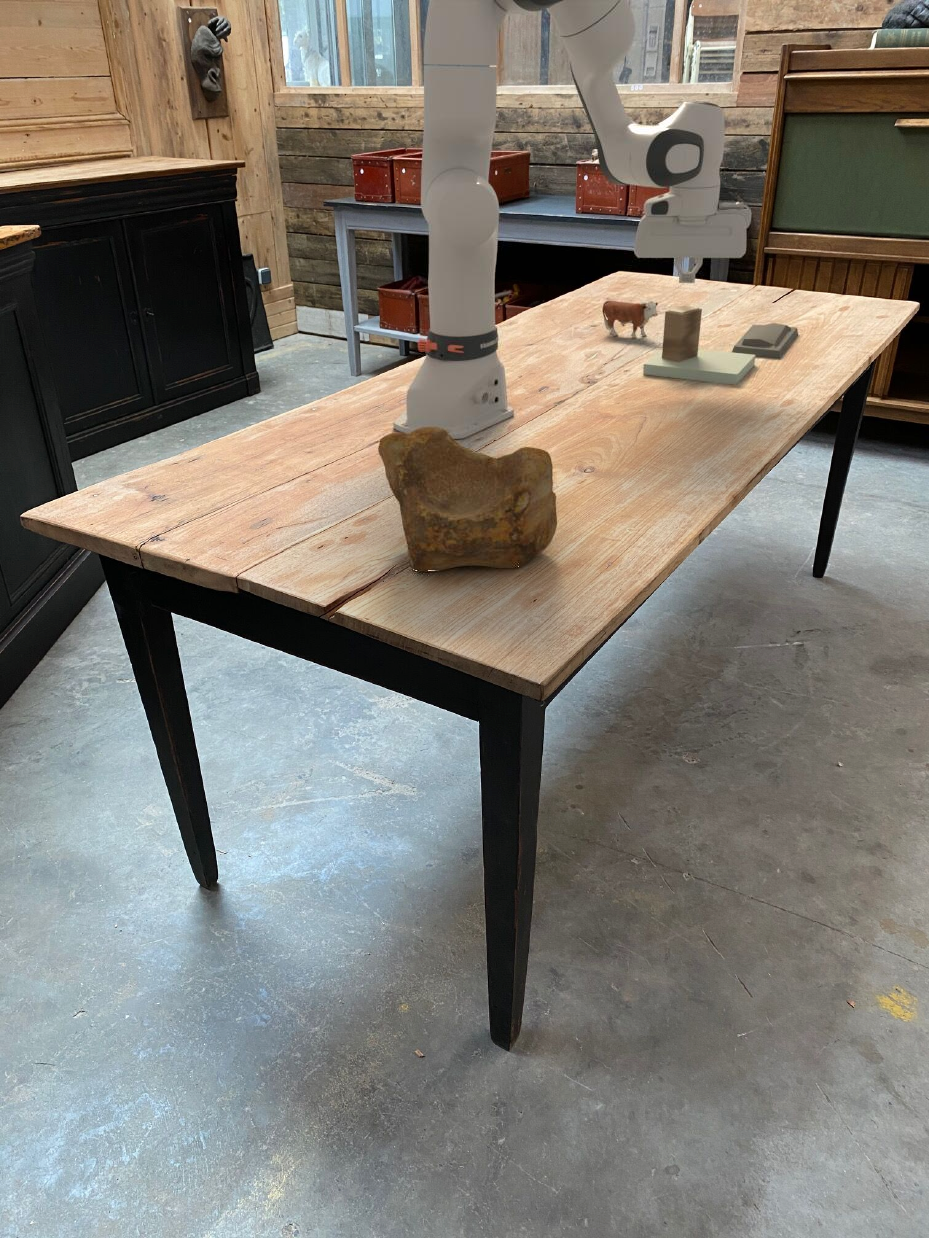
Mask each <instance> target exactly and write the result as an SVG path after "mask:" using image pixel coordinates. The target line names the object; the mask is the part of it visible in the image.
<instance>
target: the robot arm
mask: <svg viewBox="0 0 929 1238" xmlns="http://www.w3.org/2000/svg"><path fill="white" fill-rule="evenodd" d="M544 10H546V11H547V12H548V14H549V15H550V16H551V19H552V21H553V23H554V26H555V28H556V30H557V33H558V34H559V36H560V38H561V41H562V43H563V45H564V48H565V50H566V52H567V55H568V57H569V63H570V64H569V65H570V72H571V77H572V80H573V83H574V85H575V89H576V92H577V95H578V96H579V99H580V102H581V104H582V107H583V110H584V112H585V114H586V117H587V119H588V122H589V125H590V127H591V130H592V133H593V137H594V139H595V143H596V150H597V158H598V159H597V160H598V164H599V168H600V171H601V173H602V174H603V176H604V177H605V179H606V180H608V182H609V183H611V184H613V185H617V186H639V187H645V188H655V189H665V188H669V191H668V192H666V193H663V194H659V195H657V196H654V197H651V198H648V199H647V200H645V202H644V204H643V213H644V214H643V216H641V218H640V220H639V223H638V226H637V230H636V233H635V234H636V236H635V239H634V240H635V241H634V249H633V252H634V255H635V256H636V257H637V259H638V258H639V259H640V258H643V259H645V258H646V259H647V258H648V259H649V258H652V259H654V258H655V259H659V258H660V259H663V258H667V259H668V258H669V259H671V258H674V266H675V268H676V270H677V272H678V274H679V277H678V284H686V283H687V284H695V281H696V274H697V273H698V271H699V269H700V268H701V267H702V265H703V259H706V258H707V259H714V258H715V259H725V258H726V259H727V258H728V259H742V257H743V256H744V255H745V254H746V251H747V229H748V228H749V227H750V225H751V223H752V214H753V213H752V210H751V208H750V206H748V205H746V204H745V202H739V201H738V202H721V201H719V199H720V190H721V178H720V177H721V176H720V168H721V165H722V162H723V159H724V150H725V139H726V136H725V135H726V132H725V131H726V127H725V125H726V124H725V123H726V122H725V115H724V110H723V109H722V108H721V107H720V106H719V104H717V103H712V102H708V101H700V100H685V101H682V102H681V103H680V104H679V107H678V108H677V109H676V111H675V112H673V113H672V114H671V115H670V116H669V117H667V118H666V119H664V120H663V121H660V122H659V123H657V125H654V124H653V125H651V124H650V125H648V124H639V123H638V122H636V121H634V120H633V119H631V118H630V117H629V116H628V115H627V113H626V110H625V108H624V104H623V102H622V98H621V97H620V94H619V91H618V88H617V84H616V82H615V79H614V74H613V73H614V69H615V68H616V67H617V66H618V65H619V64H621V62H622V61H623V60H624V59H625V58H626V56H627V55H628V53H629V51H630V50H631V47H632V45H633V43H634V40H635V39H634V38H635V35H636V25H635V20H634V15H633V10H632V9H631V5H630V3H629V0H429V4H428V8H427V15H426V22H425V31H424V32H425V34H424V48H423V64H424V65H423V135H422V136H423V137H422V138H423V139H422V150H421V151H422V153H421V154H422V156H421V177H420V178H421V179H420V181H421V182H420V206H421V212H422V215H423V217H424V219H425V221H426V222H427V225H428V226H427V227H428V280H427V283H428V284H427V285H428V286H427V287H428V305H429V325H430V327H429V329H428V333H427V337H426V339H422V338H420V339H419V340H418V342H417V350H418V352H421V353H422V352H425V355H426V356H425V357H424V360H423V362H422V364H421V365H420V367H419V369H418V371H417V373H416V374H415V376H414V379H413V380H412V382H411V384H410V386H409V387H408V389H407V392H406V410H405V411H403V413H402V414H401V415H400V416H398V418H396V419H395V420H394V421H393V429H394V430H396V431H399V432H405V433H407V434H409V433H411V432H412V431H414V430H416V429H420V428H422V427H439V428H442V429H444V430H446V431H447V432H448V434H449V435H450V436H451V437H452V438H453V439H454V440H457V439H461V440H462V439H466V438H468V437H469V436H472V435H475V434H476V433H478V432H481V431H483V430H485V429H487V428H489V427H491V426H494V425H496V424H498V423H500V422H502V421H505V420H506V419H509V418H511V417H513V416H514V415H515V411H514V408H513V407H512V406H510V405H509V404H508V393H507V392H508V391H507V380H506V372H505V371H506V370H505V366H504V364H503V363H502V362H501V360H500V358H499V356H498V353H497V351H498V349H499V334H498V327H497V326H496V318H495V317H496V316H495V315H496V309H495V308H496V307H495V306H496V301H495V300H496V299H495V295H496V294H495V278H496V277H495V275H496V274H495V273H496V265H497V257H498V256H497V255H498V254H497V253H498V241H499V239H498V238H499V222H500V220H499V217H500V204H499V199H498V196H497V194H496V191H495V190H494V187H493V186H492V185H491V184H490V182H489V179H490V178H489V176H490V175H489V174H490V165H491V156H492V149H493V142H494V141H493V140H494V135H495V131H496V125H497V124H496V119H497V94H498V93H497V92H498V91H497V90H498V66H499V65H498V60H499V59H498V57H499V55H498V48H499V47H498V40H499V33H500V30H501V27H502V24H503V21H504V19H505V17H506V15H519V14H525V13H531V12H542V11H544ZM685 258H686V259H687V258H688V259H689V258H690V259H694V264H695V266H694V267H693V268H692V271H684V270H683V268H682V266H681V265H682V264H683V259H685Z"/></svg>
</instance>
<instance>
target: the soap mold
mask: <svg viewBox="0 0 929 1238" xmlns="http://www.w3.org/2000/svg"><path fill="white" fill-rule="evenodd" d="M797 336H799V330H798V327H793V326H789V325H787V324H782V323H777V322H776V323H775V322H771V323H767V324H752V325H751V327H749V329H748V330H747V331H746V332H745V333H744V335H742V336H741V338H740V339H739V340H738V341H737V343H735V344H734V346H733V347H732V351H731V352H732V353H742V354H752V355H756V356H755V357H762V358H768V359H769V358H772V359H781V358H782V356H783V355H784V353H785V352H787V350H788V348H789V347H790V346H791V345H792V344H793V342H794V341H795V339H796V338H798V337H797Z"/></svg>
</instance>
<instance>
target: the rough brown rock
mask: <svg viewBox="0 0 929 1238" xmlns="http://www.w3.org/2000/svg"><path fill="white" fill-rule="evenodd" d="M377 451H378V453H379V456H380V458H381V460H382V463H383V465H384V470H385V471H384V472H385V477H386V479H387V482H388V485H389V487H390V490H391V492H392V494H393V496H394V497H395V499H396V500H397V502H398V505H399V509H400V515H401V516H400V517H401V521H402V528H403V529H402V530H403V533H404V536H405V541H406V546H407V551H408V557H409V559H408V560H409V561H408V563H409V565H411V566H410V569H411V568H412V569H414V570H417V571H428V570H441V571H444V570H448V569H453V568H456V567H466V566H479V567H482V566H483V567H489V568H497V569H515V568H514V567H518V566H519V567H518V568H521V567H523V566H524V565H525V564H527V562H528V561H529V560H531V559H535V558H537V557H538V556H539V555H540V554H541V553H543V551H544V550H545V549H547V547H548V546H549V545H550V544H551V542H552V541H553V539H554V536H555V534H556V530H557V527H558V515H557V504H556V503H557V495H556V493H555V492H554V490H553V488H554V487H553V486H554V479H553V473H554V472H553V461H552V458H551V455H550V453H549V452H548V451H546V450H544V449H542V448H538V447H532V446H531V447H530V446H524V447H520V448H519V449H517V450H515V451H514V452H512V453H509V454H504V455H502V456H500V457H494V456H493V457H492V456H490V455H487V454H485V453H481V452H477V451H475V450H472V449H469V448H467V447H465V446H463V445H460V444H459V443H458V442H457V441H456V439H453V438H452V437H451V436H450V435H449V434H448V432H447V431H446V430H444V429H442V428H439V427H422V428H420V429H416V430H414V431H412V432H411V433H409V434H407V433H405V432H401V431H399V432H392V433H388V434H387V435H384V436H383V437H381V438H380V439H379V443H378V448H377ZM520 566H521V567H520ZM412 569H411V570H412ZM443 569H444V570H443Z"/></svg>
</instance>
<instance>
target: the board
mask: <svg viewBox="0 0 929 1238" xmlns="http://www.w3.org/2000/svg"><path fill="white" fill-rule="evenodd" d="M756 357H757V356H756V355H752V354H742V353H732V351H731V352H730V351H722V350H721V351H720V350H712V349H701V348H698V356H696V357H693V358H690V359H687V360H684V361H681V362H674V361H670V360H666V359H662V349H661V350H659V351H658V352H657V353H656V354H654V355H653V356H652V357H651V358H649V359H648V360H647V361H646V362H644V363H643V371H642V374H643V375H648V376H654V377H655V376H656V377H664V378H671V379H682V380H690V381H697V382H698V381H700V382H708V383H717V384H726V385H732V386H733V385H734V386H737V385H738V384H739V383H740V381H741V380H742V379H743V378H744V377H745V376H746V375H747V374H748V373H749V371H750V370H751V369H752V368H753V367H754V366H755V365H756V364H755V363H756V362H755V361H756Z"/></svg>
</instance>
